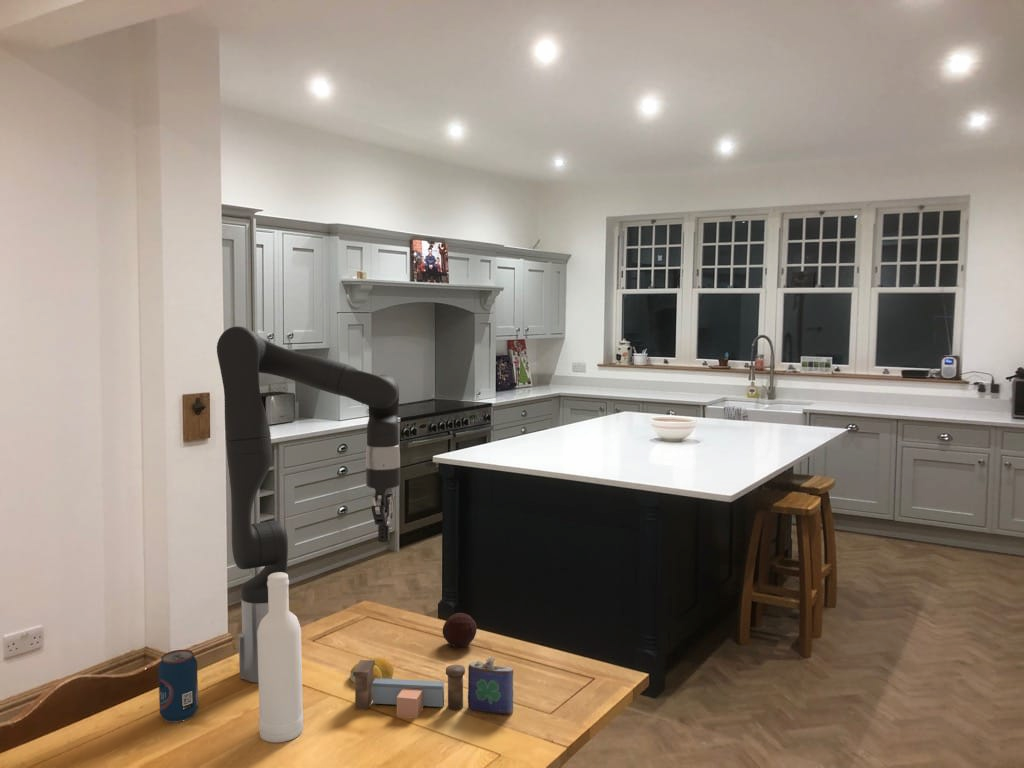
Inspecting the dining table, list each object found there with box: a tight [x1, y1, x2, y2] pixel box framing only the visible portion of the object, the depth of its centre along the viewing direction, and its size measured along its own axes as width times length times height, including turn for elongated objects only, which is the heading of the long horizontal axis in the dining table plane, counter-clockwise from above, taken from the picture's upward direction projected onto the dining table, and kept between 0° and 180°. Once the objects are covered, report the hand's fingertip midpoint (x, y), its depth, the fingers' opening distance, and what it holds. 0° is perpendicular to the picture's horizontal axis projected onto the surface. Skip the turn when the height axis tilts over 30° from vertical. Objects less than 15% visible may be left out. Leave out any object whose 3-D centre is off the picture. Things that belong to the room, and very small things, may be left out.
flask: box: [467, 656, 514, 716], centre depth 158 cm, size 9×3×11 cm, turn 74°
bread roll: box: [349, 657, 394, 684], centre depth 174 cm, size 8×9×4 cm
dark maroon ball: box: [442, 612, 478, 648], centre depth 190 cm, size 8×9×8 cm
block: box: [396, 688, 424, 719], centre depth 158 cm, size 4×4×4 cm
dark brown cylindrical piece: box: [445, 664, 466, 712], centre depth 160 cm, size 4×4×8 cm
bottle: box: [257, 572, 304, 743], centre depth 149 cm, size 8×8×30 cm
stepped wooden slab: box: [353, 659, 375, 711], centre depth 161 cm, size 3×6×8 cm, turn 176°
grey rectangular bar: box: [372, 678, 445, 708], centre depth 161 cm, size 14×2×4 cm, turn 84°
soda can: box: [157, 649, 199, 723], centre depth 156 cm, size 7×7×12 cm
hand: (384, 541), depth 181 cm, fingers closed
